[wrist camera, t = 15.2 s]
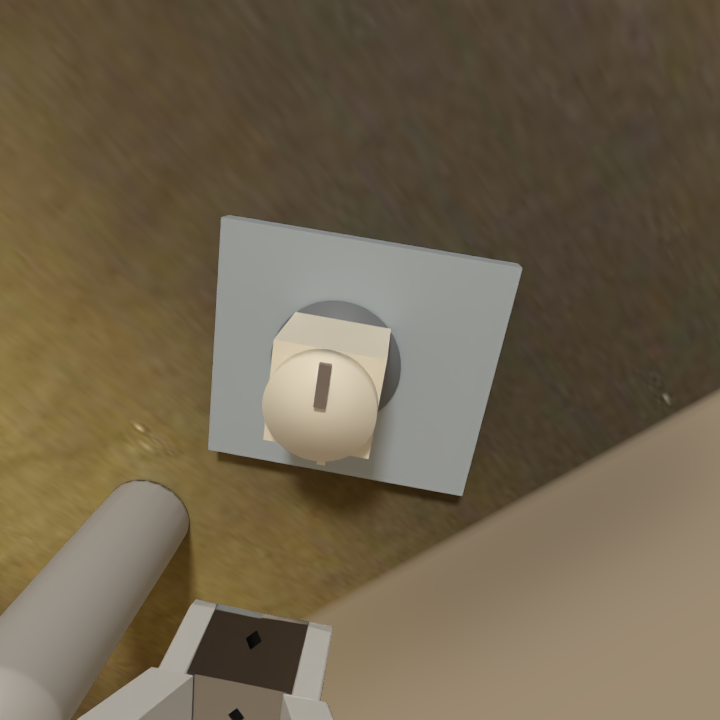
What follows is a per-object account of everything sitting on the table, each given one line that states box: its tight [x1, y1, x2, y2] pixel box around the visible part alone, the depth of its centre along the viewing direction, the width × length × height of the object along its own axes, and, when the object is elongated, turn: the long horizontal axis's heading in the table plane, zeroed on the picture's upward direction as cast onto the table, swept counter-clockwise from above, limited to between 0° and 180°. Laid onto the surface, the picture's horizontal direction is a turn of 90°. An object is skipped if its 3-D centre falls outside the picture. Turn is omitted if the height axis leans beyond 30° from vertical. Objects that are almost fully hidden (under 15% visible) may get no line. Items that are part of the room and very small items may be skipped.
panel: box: [208, 215, 522, 496], centre depth 32 cm, size 18×16×7 cm
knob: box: [262, 312, 391, 462], centre depth 30 cm, size 6×6×7 cm
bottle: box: [0, 480, 189, 720], centre depth 28 cm, size 7×7×28 cm
